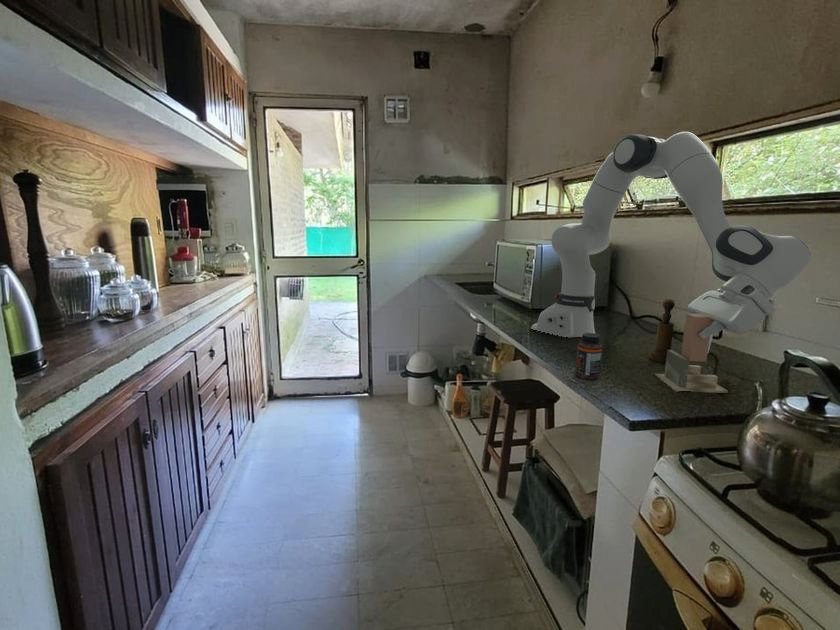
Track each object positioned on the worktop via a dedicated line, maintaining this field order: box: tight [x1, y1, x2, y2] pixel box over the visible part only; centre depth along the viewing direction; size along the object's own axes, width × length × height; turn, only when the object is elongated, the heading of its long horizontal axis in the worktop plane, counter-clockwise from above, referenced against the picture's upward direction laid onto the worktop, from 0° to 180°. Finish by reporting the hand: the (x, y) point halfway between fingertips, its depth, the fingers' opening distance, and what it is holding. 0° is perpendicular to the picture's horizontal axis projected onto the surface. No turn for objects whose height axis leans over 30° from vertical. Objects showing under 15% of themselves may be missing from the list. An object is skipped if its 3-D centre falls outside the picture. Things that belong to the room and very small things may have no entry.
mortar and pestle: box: [649, 298, 675, 364], centre depth 127 cm, size 7×6×18 cm
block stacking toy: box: [654, 349, 729, 394], centre depth 109 cm, size 12×11×8 cm
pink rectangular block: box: [680, 313, 712, 362], centre depth 107 cm, size 4×4×11 cm
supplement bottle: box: [575, 333, 603, 380], centre depth 114 cm, size 6×6×11 cm
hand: (694, 333), depth 107 cm, fingers closed on pink rectangular block, 4 cm apart
